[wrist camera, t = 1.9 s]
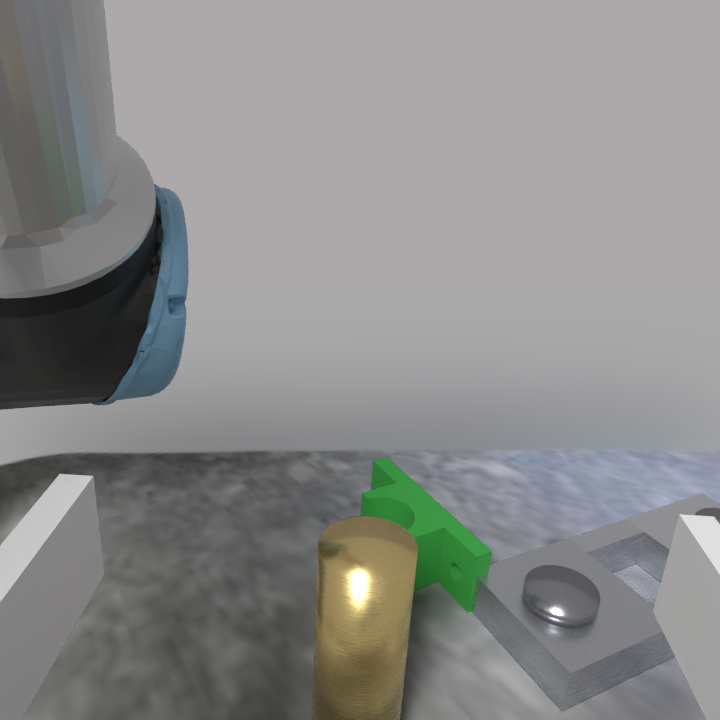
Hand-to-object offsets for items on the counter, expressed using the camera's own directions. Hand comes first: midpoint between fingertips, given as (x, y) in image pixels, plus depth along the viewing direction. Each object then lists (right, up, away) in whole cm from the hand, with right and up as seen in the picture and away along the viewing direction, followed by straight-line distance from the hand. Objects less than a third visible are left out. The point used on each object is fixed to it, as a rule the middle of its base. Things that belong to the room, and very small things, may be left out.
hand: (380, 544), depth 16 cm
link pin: (-1, -13, +16) cm, 21 cm away
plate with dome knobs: (+16, -10, +26) cm, 33 cm away
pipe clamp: (+2, -9, +29) cm, 30 cm away
